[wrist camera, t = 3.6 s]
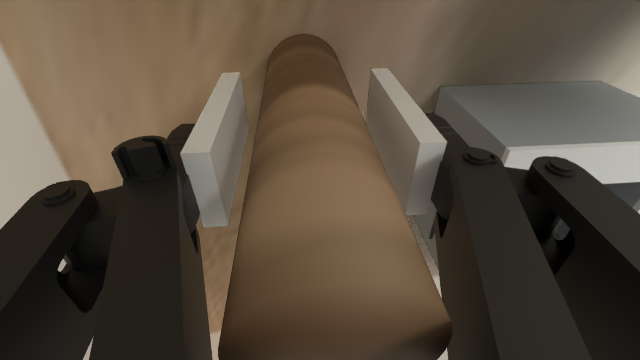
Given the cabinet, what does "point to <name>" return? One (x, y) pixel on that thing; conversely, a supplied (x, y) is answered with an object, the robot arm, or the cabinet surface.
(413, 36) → the cabinet surface
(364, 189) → the walnut dowel
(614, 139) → the socket block
